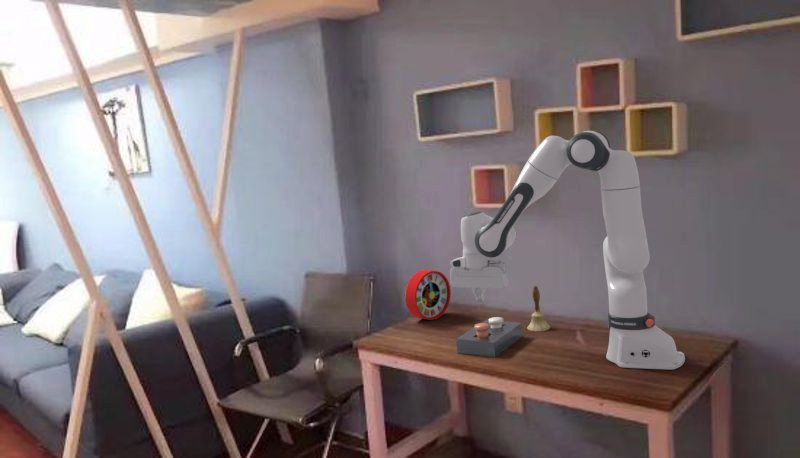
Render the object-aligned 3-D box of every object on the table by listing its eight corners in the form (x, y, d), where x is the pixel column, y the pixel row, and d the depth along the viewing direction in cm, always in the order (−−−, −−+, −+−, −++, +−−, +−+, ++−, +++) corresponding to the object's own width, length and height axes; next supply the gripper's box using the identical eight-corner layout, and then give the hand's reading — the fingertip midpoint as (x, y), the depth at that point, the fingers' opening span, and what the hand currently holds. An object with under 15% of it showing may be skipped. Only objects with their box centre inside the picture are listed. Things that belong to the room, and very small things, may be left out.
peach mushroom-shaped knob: (493, 340, 220) (492, 323, 219) (486, 344, 216) (485, 328, 215) (479, 338, 223) (478, 322, 222) (472, 343, 218) (471, 326, 218)
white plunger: (506, 333, 229) (505, 317, 228) (500, 337, 225) (499, 321, 224) (493, 332, 232) (492, 316, 231) (487, 336, 228) (485, 320, 227)
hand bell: (550, 331, 232) (547, 288, 230) (527, 332, 234) (524, 289, 232) (549, 324, 240) (547, 282, 238) (527, 325, 242) (524, 284, 240)
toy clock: (417, 325, 255) (412, 276, 253) (407, 323, 260) (403, 275, 257) (452, 313, 268) (448, 266, 266) (442, 311, 273) (438, 265, 270)
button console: (522, 336, 230) (521, 322, 229) (495, 357, 211) (493, 342, 210) (486, 332, 237) (485, 319, 237) (457, 353, 218) (456, 338, 218)
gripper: (509, 258, 212) (512, 299, 214) (454, 258, 224) (458, 296, 225) (501, 262, 207) (505, 304, 209) (445, 262, 218) (450, 301, 220)
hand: (480, 300), depth 217 cm, fingers closed
